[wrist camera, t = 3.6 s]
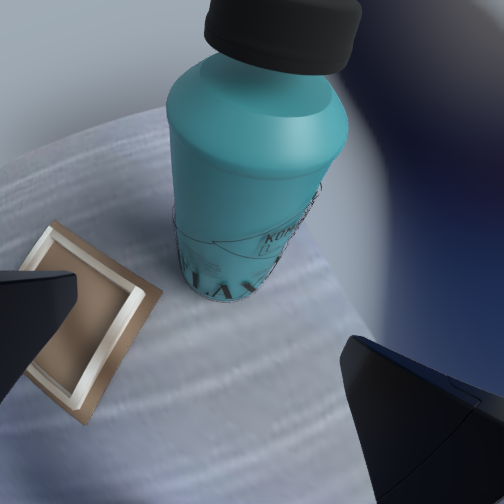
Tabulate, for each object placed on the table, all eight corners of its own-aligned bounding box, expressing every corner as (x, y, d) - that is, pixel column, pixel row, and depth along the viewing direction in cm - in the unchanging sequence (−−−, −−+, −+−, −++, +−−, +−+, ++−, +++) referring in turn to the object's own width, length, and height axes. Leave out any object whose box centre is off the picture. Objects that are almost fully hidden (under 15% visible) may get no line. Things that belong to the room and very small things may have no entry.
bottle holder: (86, 425, 16) (78, 427, 15) (-12, 332, 17) (-23, 328, 16) (162, 292, 21) (160, 285, 20) (56, 221, 22) (49, 212, 21)
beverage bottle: (165, 284, 22) (94, -12, 4) (207, 216, 25) (237, -48, 6) (243, 325, 21) (418, 73, 3) (279, 252, 24) (412, 10, 6)
